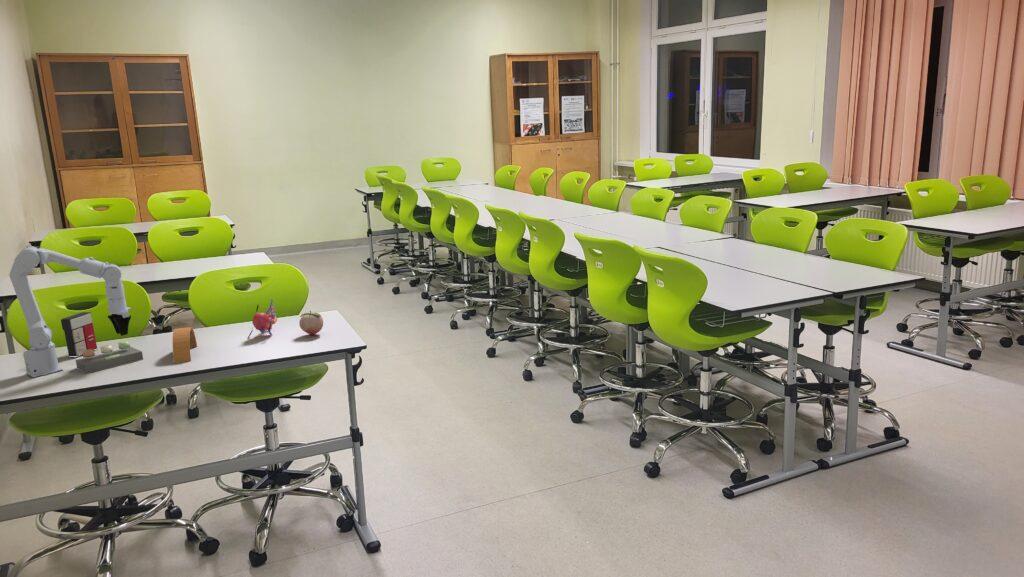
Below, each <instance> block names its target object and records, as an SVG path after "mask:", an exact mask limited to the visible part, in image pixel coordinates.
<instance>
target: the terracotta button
mask: <svg viewBox="0 0 1024 577" xmlns="http://www.w3.org/2000/svg"><path fill="white" fill-rule="evenodd" d="M82 353H83V355H82V358H87V357H92V356H95V354H96V353H95V350H94V349H88V350H84V351H82Z"/></svg>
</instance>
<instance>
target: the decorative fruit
mask: <svg viewBox="0 0 1024 577" xmlns="http://www.w3.org/2000/svg"><path fill="white" fill-rule="evenodd" d="M299 317H300V319H299V327H300V329H301V330H302V331H303V332H305V333H306V334H308V335H311V336H315V335H316V334H317V333H320V332H321V331H322V329H323V326H324V319H323V316H322V314H320V312H319V313H318V312H312V311H311V310H309V312H304V313H302V314H301V315H300V316H299Z"/></svg>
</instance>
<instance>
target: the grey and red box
mask: <svg viewBox="0 0 1024 577" xmlns="http://www.w3.org/2000/svg"><path fill="white" fill-rule="evenodd" d="M91 313H92V312H90V311H82V312H79V313H76V314H72V315H70V316H67V317H63V318H61V319H60V323H61V329H62V330H63V332H64V337H65V341H66V342H65V343H66V347H67V353H68V357H69V356H79V355H81V354H83V353H82V351H84V350H88V349H96V348H97V349H98V346H97V340H96V335H95V330H94V329H95V327H94V324H93V318H92V314H91ZM97 349H96V350H97ZM81 356H82V355H81ZM79 357H80V356H79Z"/></svg>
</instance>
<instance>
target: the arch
mask: <svg viewBox="0 0 1024 577" xmlns="http://www.w3.org/2000/svg"><path fill="white" fill-rule="evenodd" d="M196 338H197V337H196V334H195V330H194V328H193V327H189V326H187V327H180V328H175V329H173V332H172V357H173V363H174V364H178V363H185V362H191V361H192V357H191V355H192V354H191V349H192V348H191V347H194V348H197V347H198V342H197V339H196Z"/></svg>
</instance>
